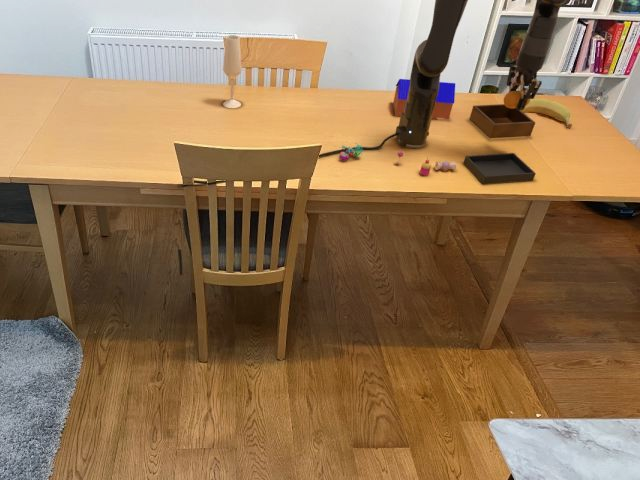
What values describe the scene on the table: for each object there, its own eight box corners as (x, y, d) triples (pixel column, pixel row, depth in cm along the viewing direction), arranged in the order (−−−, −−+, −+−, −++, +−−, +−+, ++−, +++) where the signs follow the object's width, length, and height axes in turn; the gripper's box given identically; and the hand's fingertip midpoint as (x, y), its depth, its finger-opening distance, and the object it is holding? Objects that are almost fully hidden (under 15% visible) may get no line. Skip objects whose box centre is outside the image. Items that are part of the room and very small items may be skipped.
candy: (449, 164, 189) (454, 147, 185) (456, 177, 183) (462, 159, 179) (394, 162, 188) (398, 145, 184) (399, 175, 182) (403, 158, 178)
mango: (506, 111, 181) (512, 95, 178) (498, 104, 185) (503, 88, 182) (530, 110, 183) (536, 94, 179) (521, 103, 186) (526, 87, 183)
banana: (538, 87, 222) (584, 113, 211) (534, 99, 226) (578, 125, 216) (513, 103, 218) (558, 130, 208) (509, 115, 222) (553, 142, 212)
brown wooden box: (489, 140, 203) (494, 124, 199) (468, 120, 214) (473, 105, 211) (529, 137, 206) (535, 122, 202) (507, 118, 217) (512, 103, 213)
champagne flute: (240, 100, 220) (242, 34, 204) (241, 108, 215) (242, 40, 199) (222, 100, 219) (223, 34, 204) (223, 107, 214) (223, 40, 199)
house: (392, 103, 224) (398, 72, 216) (444, 107, 223) (452, 77, 215) (394, 116, 215) (400, 85, 207) (449, 120, 213) (457, 89, 206)
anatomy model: (333, 140, 188) (344, 147, 183) (354, 137, 191) (366, 143, 186) (332, 156, 191) (343, 163, 186) (353, 152, 194) (364, 159, 189)
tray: (482, 184, 180) (485, 176, 178) (463, 163, 190) (465, 155, 188) (532, 180, 183) (535, 173, 181) (511, 160, 193) (513, 152, 191)
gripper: (509, 42, 177) (492, 97, 188) (536, 59, 166) (516, 116, 177) (531, 42, 178) (513, 96, 189) (559, 59, 168) (538, 115, 179)
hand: (514, 105), depth 183 cm, fingers closed on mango, 5 cm apart
